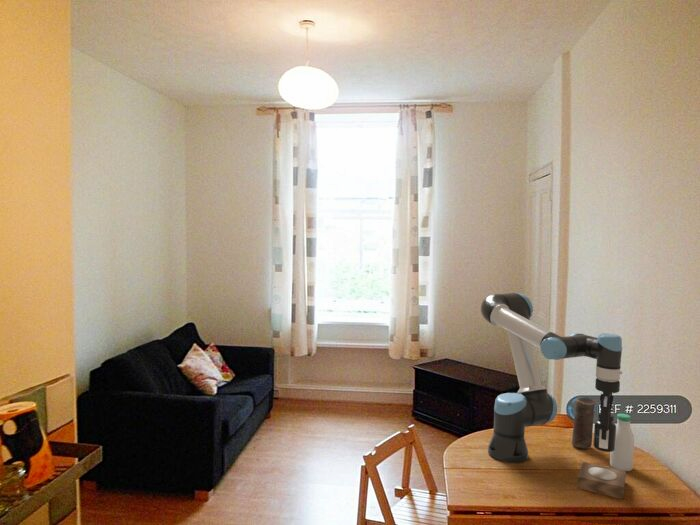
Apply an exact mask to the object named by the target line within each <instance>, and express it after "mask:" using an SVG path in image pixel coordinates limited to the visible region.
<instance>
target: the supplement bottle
mask: <svg viewBox="0 0 700 525" xmlns="http://www.w3.org/2000/svg"><path fill="white" fill-rule="evenodd" d="M600 417H601V412H598V416H597V420H596V421H595V422H594V425H593V429H594V430H593V439H592V445H593V447H594V449H596V450H597V451H600V452H603V453H604V452H606V453H610V452H612V451H614V450H615V439H616V425H617V424H615V423H614V422H615V420H614V419H615V416H614V415H613V414H612V413H611V414H609V426H608V428H609V436H608V449H604V448H599V436H600V429H598V427H600Z"/></svg>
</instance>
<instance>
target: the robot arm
mask: <svg viewBox="0 0 700 525" xmlns="http://www.w3.org/2000/svg"><path fill="white" fill-rule="evenodd" d="M480 312H481V316H482V317H483V318H484V319H485V321H487V322H488V323H490V324H491V325H493V326H494V327H501V328H502V329H504V330H506V333H507V337H508V342H509V346H510V351H511V354H512V360H513V364H514V367H515V372H516V376H517V377H516V378H517V381H518V385H519V389H518V390H517V392H506V393H500V394H499V395H497V397H496V398H495V399H494V400H495V401H494V405H493V406H494V407H493V410H494V411H493V433H492V436H491V439H490V441H489V444H488V447H487V453H488V455H489V456H490V457H492V458H493V459H495V460H498V461H501V462H505V463H510V464H511V463H512V464H513V463H514V464H515V463H516V464H518V463H524V462H526V461H527V460H528V459H529V450H528V445H527V443H526V438H525V429H526V428H528V427H534V426H539V425H541V426H542V425H545V424H549V423H551V422H553V421H554V420H555V418H556V416H557V414H558V403H557V401H556V398H555V397H553V395H552V394H550V393H548V390H547V387H546V386H544V385H543V384H542V381H541V377H540V374H539V369H538V365H537V361H536V356H535V352H534V348H533V346H535V347H536V348H538V349H540V351H541V354H542V355H543V357H544V358H545V359H548V360H557V361H559V360H562V359H571V358H582V357H584V358H585V357H586V358H589V359H594V360H596V364H595V365H596V366H595V377H596V378H595V387H594V388H595V390H597V391H599V392H601V393H600V396H599V401H600V404H599V405H600V406H599V408H600V413H601V417H600V427H598V429H600V436H599V448H604V449H608V436H609V428H608V426H609V414H612V408H613V401H614V395H613V394H617V393H619V392H620V390H621V389H620V386H621V382H620V380H621V375H622V374H623V371H621V365H622V364H621V362H622V352H623V346H622V344H623V339H622V337H621V335H618V334H614V333H606V332H605V333H599V334H598V336H597V337H595V336H592V335H588V334H584V333H577V332H574V333H571V334H570V335H568V336H561V335H559V334H556V333H555V332H553V331H552V330H549V329H547V328H545V327H543V326H542V325H539V324H537V323H535V322H534V321H533V320H531V317H532V316H533V312H534V307H533V303H532V301H531V300H530V298H529V297H528V296H526V295H525V294H523V293H518V292H511V293H509V292H508V293H493V294H489V295H487V297H484V299H483V300H482V302H481V305H480Z"/></svg>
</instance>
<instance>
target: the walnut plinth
mask: <svg viewBox="0 0 700 525" xmlns="http://www.w3.org/2000/svg"><path fill="white" fill-rule="evenodd" d="M626 475H627V471H622V470H618V469H615V468H613V467H609V466H604V465H599V464H596V463H590V462H587V461H582V462H581V466H580V470H579V472H578V475H577V488H578V489H579V490H585V491H589V492H593V493H596V494H597V493H598V494H600V495H604V496H609V497H613V498H618V499H621V500H624V494H625V488H626Z"/></svg>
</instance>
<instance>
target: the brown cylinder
mask: <svg viewBox="0 0 700 525" xmlns="http://www.w3.org/2000/svg"><path fill="white" fill-rule="evenodd" d="M595 404H596V403H595V400H593V399H592V398H589V397H586V396H584V397H583V396H579V397H577V398H575V405H574V414H573V415H574V416H573V425H572V426H573V428H572V429H573V430H572V437H571V438H572V439H571V445H572V446H573V447H576V448H578V449H579V448H580V449H583V450H586V449H590V448H591V447H592V445H593V433H594V430H593V429H594V416H595V406H596V405H595Z"/></svg>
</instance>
